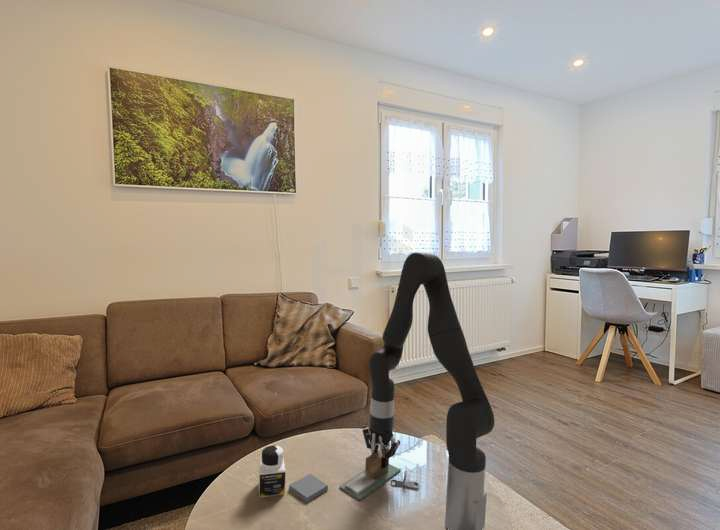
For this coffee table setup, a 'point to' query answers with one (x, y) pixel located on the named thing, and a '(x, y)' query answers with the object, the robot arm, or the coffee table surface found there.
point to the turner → (368, 473)
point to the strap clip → (408, 483)
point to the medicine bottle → (272, 472)
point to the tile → (308, 487)
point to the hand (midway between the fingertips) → (379, 465)
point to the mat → (378, 482)
